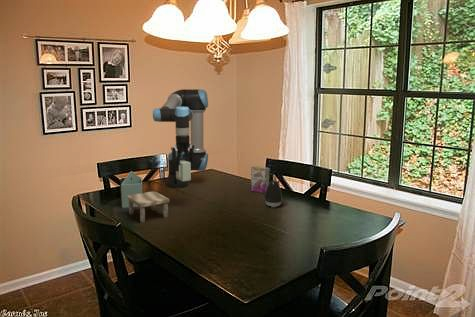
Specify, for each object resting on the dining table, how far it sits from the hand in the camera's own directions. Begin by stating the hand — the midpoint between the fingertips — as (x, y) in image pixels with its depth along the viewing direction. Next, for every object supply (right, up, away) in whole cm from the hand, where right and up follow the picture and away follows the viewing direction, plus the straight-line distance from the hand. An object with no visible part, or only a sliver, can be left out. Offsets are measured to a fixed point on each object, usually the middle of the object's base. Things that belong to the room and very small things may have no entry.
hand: (183, 175), depth 227 cm
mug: (-34, -15, +18) cm, 42 cm away
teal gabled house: (-28, -17, +7) cm, 33 cm away
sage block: (0, -2, 0) cm, 2 cm away
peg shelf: (-17, -21, -10) cm, 29 cm away
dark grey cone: (+51, -18, +8) cm, 55 cm away
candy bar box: (+45, -12, +36) cm, 59 cm away
